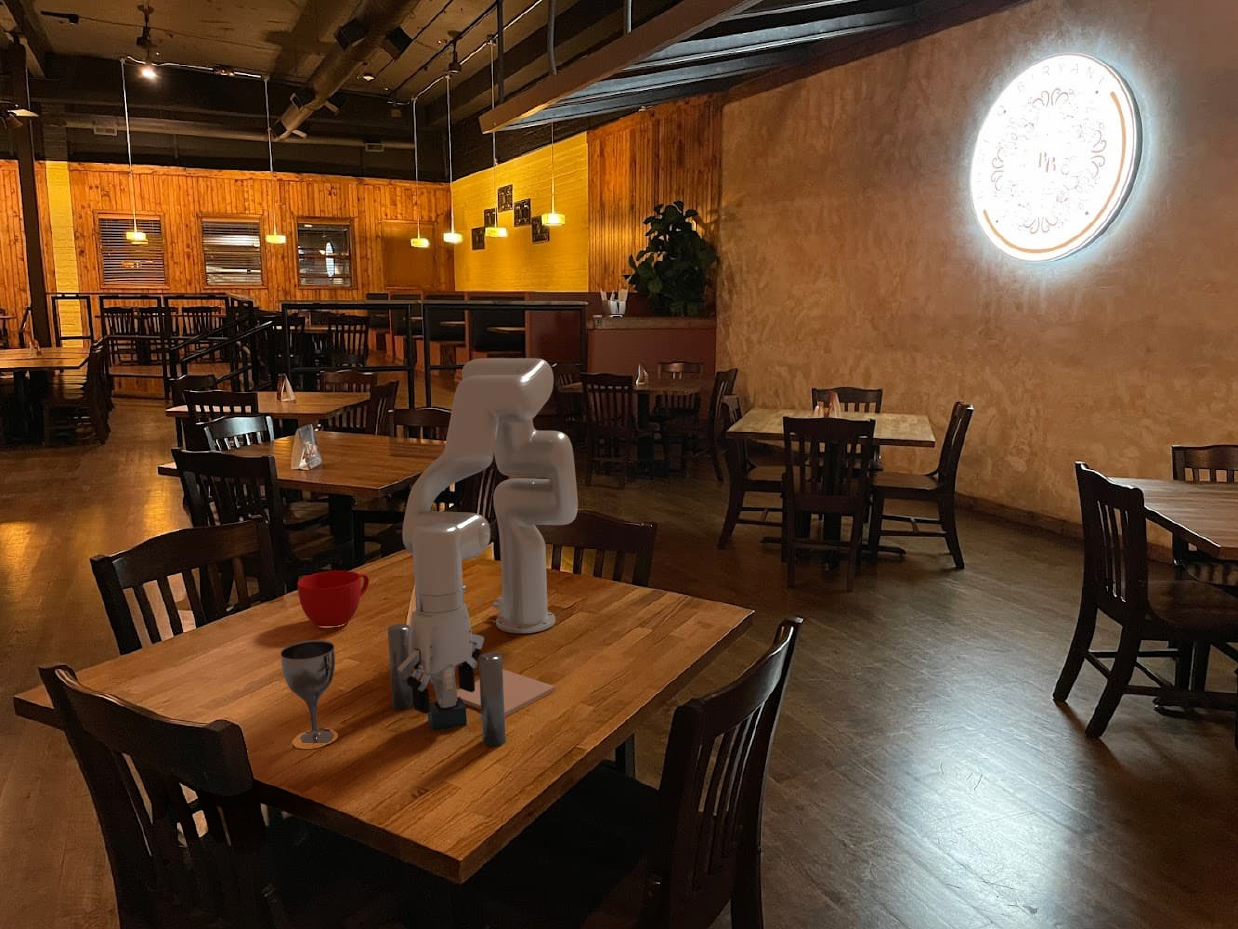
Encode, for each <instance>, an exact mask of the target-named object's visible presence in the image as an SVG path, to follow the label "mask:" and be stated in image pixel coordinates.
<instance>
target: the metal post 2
mask: <svg viewBox="0 0 1238 929" xmlns="http://www.w3.org/2000/svg"><path fill="white" fill-rule="evenodd" d="M503 668H504V667H503V655H502V654H501V653H499V652H485V653H481V654H480V656H479V658H478V673H479V674H478V676H479V677H478V679H479V680H480V699H481V710H480V716H481V732H482V733H481V738H482V744H483V746H485V747H488V748H495V747H496V748H497V747H501V746H503V745H504V744H505V743H506V742H507V740H506V739H507V738H506V737H507V736H506V735H507V734H506V717H505V711H504V689H503ZM502 744H503V745H502Z"/></svg>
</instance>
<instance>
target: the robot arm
mask: <svg viewBox="0 0 1238 929" xmlns="http://www.w3.org/2000/svg"><path fill="white" fill-rule="evenodd" d="M461 378H462V380H461V381H460V382H459V383H458V384H457V386H456V389H455V393H454V396H453V397H454V398H453V404H452V407H451V413H450V419H449V424H448V430H447V435H446V440H445V445H444V450H443V452H442V454H441V455H439V457H438V458H436V459H435V460H434V461H433V462H431V463H430V465H429V466H427V468H426V469H424V471H423V472H422V473H421V474H420V476H419V477H418V478H417V480H416V481H415V483H414V484H413V486H412V487H411V490H410V491H409V496H408V498H407V504H406V508H405V513H404V518H403V519H404V520H403V523H402V542H403V545H404V548H405V549H406V550H407V551H408V553H411V554H412V555H413V556H412V560H413V561H412V562H413V574H414V575H413V577H414V578H413V579H414V594H415V610H414V611H412V612H411V616H410V617H411V618H410V624H409V626H410V631H409V657H408V658H407V659H406V660H405V661H404V662H403V663H402V664H401V665H400V666H399V667H398V669H397V671H398V673H399V675H400V676H401V678H402V680H403V682H404V683H406V684H407V685H408V686H409V687H411V688H412V692H413V705H414V706H413V708H414V710H415V711H418V712H420V713H422V714H425V715H426V714H427V715H428V713H429V711H430V703H429V702H430V691H429V690H430V689H429V688H426V687H427V685H428V683H429V682H430V677H431V675H435V674H437V673H440V672H442V671H444V670H445V669H447V668H449V666H451V665H452V664H453V667H454V666H456V667H457V666H458V669H457V670H458V687H459V689H463V690H466V691H469V692H474V691H475V682H476V681H475V680H476V679H475V668H477V666H478V662H477V661H479V659H478V658H479V656H480V655H482V648H483V644H484V641H485V637H484V636H482V635H479V634H474V633H472V625H471V620H470V615H469V611H468V607H467V603H466V602H464V594H465V593H466V592H467V587H466V585H465V584H463V583H464V580H463V563H462V562H464V561H467V560H471V559H474V558H476V557H478V556H480V555H482V553H483V552H485V550H486V549H487V547H488V545H489V544H490V539H491V526H490V524H489V522H488V520H487V519H486V517H484V516H482V515H481V514H479V513H475V512H464V511H463V512H458V511H456V512H455V511H435V510H434V511H433V510H431V508H432V505H433V504H434V502H435V500H436V498H437V497H438V496H439V495H440V493H442V492H443V491H445V489H447V488H448V487H449V486H451V485H454V484H455V483H457V482H460V481H462V480H464V479H466V478H468V477H470V476H473V475H475V474H478V473H480V472H483V471H485V470H486V469H487V468H489V467H490V466H491V465H492V463H493V459H494V460H495V463H496V464H495V465H496V467H497V470H498V471H499V472H500V474H502V475H504V476H507V477H515V478H509V479H505V480H503V481H501V482H499V484H497V486H496V487H495V489H494V491H493V498H492V499H493V507H494V508H493V509H494V512H495V517H496V522H497V527H498V533H499V550H500V567H501V568H500V570H501V575H500V576H501V589H502V591H501V594H502V597H501V596H498V597H497V598H496V600H495V601H494V602H493V603H492V609H493V610H494V609H495V610H499V615H498V616H497V617H496V620H495V623H496V624H495V626H496V627H497V628H498V629H499V630H501V631H503V632H506V633H512V634H532V633H538V632H542V631H545V630H547V629H551V627H553V626H554V625H555V623H556V616H555V614H554V613H552V612H551V611H548V589H547V588H548V585H547V582H548V581H547V557H546V556H547V554H546V553H547V552H546V549H547V548H546V547H547V546H546V541H545V539H544V537H543V535H542V534H541V532H540V530H539V529H538V528H537V526H536V525H539V526H541V525H544V526H546V525H547V526H565V525H568V524H571V523H572V522H573V521H574V520H576V517H577V513H578V508H579V503H578V501H579V500H578V490H577V480H576V479H577V478H576V468H575V467H576V466H575V456H574V450H573V444H572V442H571V440H570V437H569V436H568V435H567V434H566V433H564V432H562V431H557V430H537V429H536V428H535V426H534V422H533V421H534V418H535V417H536V416H537V414H538V413H539V412H540V411H541V410H542V408H543V407H544V406H545V404H546V403H547V402H548V401H549V399H550V397H551V394H552V392H553V390H554V382H555V381H554V372H553V369H552V367H551V366H550V364H549V363H548V361H546V360H545V359H543V358H533V357H532V358H531V357H530V358H528V357H526V358H525V357H524V358H523V357H517V358H515V357H514V358H513V357H512V358H510V357H509V358H508V357H507V358H506V357H488V358H486V357H485V358H474V359H472V360H469V361H467V362H466V363H465V364H464V365H463V367H462V371H461ZM411 670H412V671H413V672H412V674H413V675H412V674H411ZM421 675H422V677H421ZM420 677H421V678H420Z"/></svg>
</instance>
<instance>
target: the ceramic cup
mask: <svg viewBox="0 0 1238 929" xmlns="http://www.w3.org/2000/svg"><path fill="white" fill-rule="evenodd" d="M361 578H363V584H362V583H361ZM369 582H370V578H369V576H368V575H367V574H365V573H363V572H362V573H357V572H354V571H352V570H351V571H350V570H328V571H323V572H322V571H321V572H317V573H313V574H309V575H307V576H303V577H302V578H301V579H298V581H297V593H298V598H299V602H300V606H301V608H302V610H303V613H304V615H305V616H306V617H307V618H308V619H309V621H310V622H311V623H312V624H314V625H315V626H316V625H317V626H338V625H342V624H345V623H347V622H348V621H350V620H351V619H352V618H353V617H354V615H355V613H356V612H357V610H358V607H359V604H360V601H361V600H360V599H361V597H362V596H363V595H364V594H365V593H366V591H367V589H368V588H369ZM361 584H362V586H361ZM348 623H349V622H348ZM348 623H347V624H348ZM317 626H316V627H317Z"/></svg>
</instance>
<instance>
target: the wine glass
mask: <svg viewBox="0 0 1238 929" xmlns="http://www.w3.org/2000/svg"><path fill="white" fill-rule="evenodd" d="M280 661H281V662H280V663H281V670H282V673H283V677H284V680H285V683H286V685H287V686H288V688H289V690H290V691H291V692H293V693H294V694H295V695H297V696H298V697H299V698H300V699H302V700H303V701H304V702H305V704H306V706H307V708H308V712H309V716H310V717H309V718H310V722H311V729H312V730H311V731H309V732H306V733H305V734H303V735H302V736H301V737H300V738H301V741H302V743H313V744H314V743H328V742H330V741H332V739H333V737H334V734H333V732H331V731H330V729H325V728H326V727H318V725H317V723H318V722H317V709H318V703H319V701H320V698H321V697H322V695H324V693H325V692H326V690H327V689H328V688H329V686H330V685H331V684H332V682H333V679H334V677H335V676H334V674H335V669H336V651H335V644H334V643H333V642H331V641H329V640H324V639H311V640H303V641H299V642H295V643H291V644H289V645H287V646H285V647H284V648H283V649H281V652H280ZM317 728H319V729H317Z"/></svg>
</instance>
